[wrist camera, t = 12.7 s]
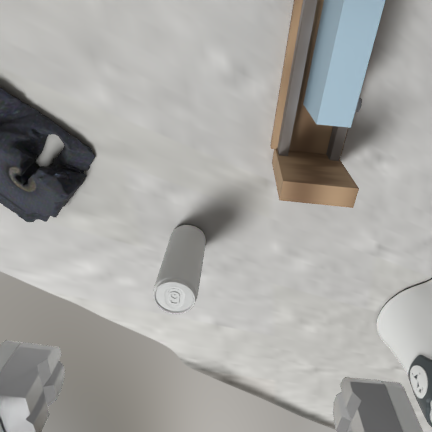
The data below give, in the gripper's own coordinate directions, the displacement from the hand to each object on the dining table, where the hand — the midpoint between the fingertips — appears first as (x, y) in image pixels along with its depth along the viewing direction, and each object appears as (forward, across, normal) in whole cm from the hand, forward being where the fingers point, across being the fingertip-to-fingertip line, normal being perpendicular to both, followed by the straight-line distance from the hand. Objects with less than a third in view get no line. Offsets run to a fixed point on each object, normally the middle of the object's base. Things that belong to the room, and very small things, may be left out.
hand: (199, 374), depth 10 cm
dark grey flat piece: (+35, +28, +7) cm, 45 cm away
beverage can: (+34, +4, +18) cm, 39 cm away
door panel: (+33, -9, -6) cm, 35 cm away
